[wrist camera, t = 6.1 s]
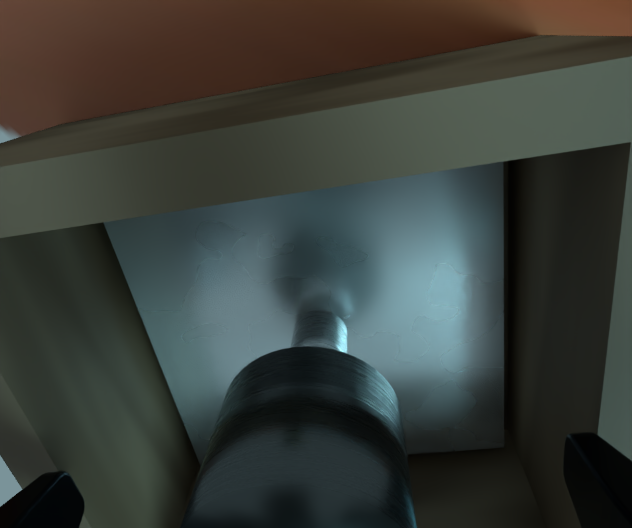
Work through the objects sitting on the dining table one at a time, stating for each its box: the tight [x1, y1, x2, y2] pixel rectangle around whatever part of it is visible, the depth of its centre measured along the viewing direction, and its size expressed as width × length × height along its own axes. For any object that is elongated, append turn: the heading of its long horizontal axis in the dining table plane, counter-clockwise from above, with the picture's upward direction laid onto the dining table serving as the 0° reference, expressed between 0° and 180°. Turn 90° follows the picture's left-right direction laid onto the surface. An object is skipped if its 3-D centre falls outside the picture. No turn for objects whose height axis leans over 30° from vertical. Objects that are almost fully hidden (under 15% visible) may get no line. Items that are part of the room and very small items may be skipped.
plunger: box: [103, 162, 504, 528], centre depth 10 cm, size 9×9×7 cm
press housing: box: [0, 35, 632, 528], centre depth 11 cm, size 12×12×6 cm
